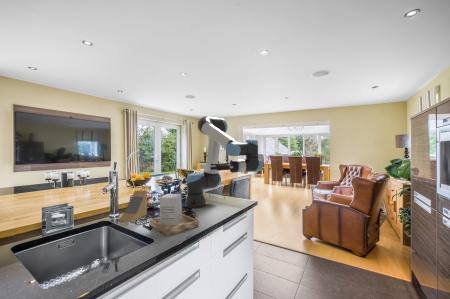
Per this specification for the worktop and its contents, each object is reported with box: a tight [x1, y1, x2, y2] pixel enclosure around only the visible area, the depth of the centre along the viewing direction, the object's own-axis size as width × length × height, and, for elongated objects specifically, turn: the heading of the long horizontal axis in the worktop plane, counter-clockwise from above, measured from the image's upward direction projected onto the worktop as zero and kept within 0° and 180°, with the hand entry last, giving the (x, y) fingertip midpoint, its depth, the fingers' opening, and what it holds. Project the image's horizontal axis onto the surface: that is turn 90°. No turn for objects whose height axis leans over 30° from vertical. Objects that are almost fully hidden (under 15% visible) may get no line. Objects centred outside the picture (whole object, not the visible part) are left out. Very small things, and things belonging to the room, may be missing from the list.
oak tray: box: [149, 213, 200, 237], centre depth 111 cm, size 18×20×3 cm
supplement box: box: [159, 193, 183, 227], centre depth 111 cm, size 9×9×15 cm
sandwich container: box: [119, 190, 148, 223], centre depth 126 cm, size 9×15×15 cm, turn 169°
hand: (201, 167), depth 119 cm, fingers open, 13 cm apart
